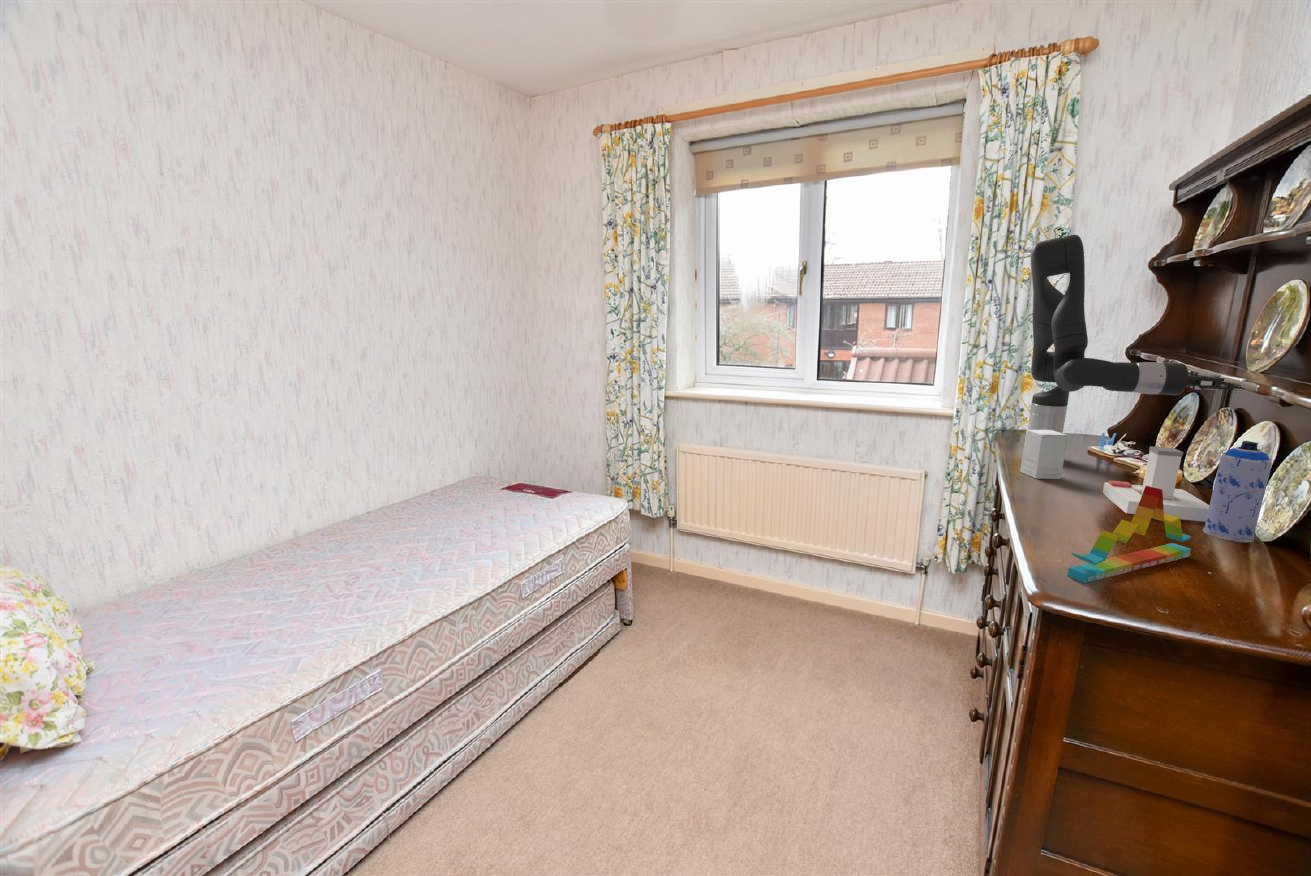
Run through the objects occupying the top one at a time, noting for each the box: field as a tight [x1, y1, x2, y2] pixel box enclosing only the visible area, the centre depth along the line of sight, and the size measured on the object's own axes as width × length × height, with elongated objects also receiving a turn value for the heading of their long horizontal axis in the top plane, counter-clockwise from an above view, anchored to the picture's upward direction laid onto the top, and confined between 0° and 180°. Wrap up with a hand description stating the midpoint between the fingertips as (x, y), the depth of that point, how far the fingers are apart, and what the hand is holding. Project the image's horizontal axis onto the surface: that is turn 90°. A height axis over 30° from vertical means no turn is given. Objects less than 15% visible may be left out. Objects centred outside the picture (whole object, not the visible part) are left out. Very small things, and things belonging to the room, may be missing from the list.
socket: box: [1102, 480, 1210, 523], centre depth 138 cm, size 16×16×4 cm
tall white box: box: [1141, 446, 1184, 500], centre depth 137 cm, size 5×5×14 cm
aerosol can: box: [1202, 440, 1273, 543], centre depth 120 cm, size 8×8×20 cm
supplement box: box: [1019, 429, 1069, 480], centre depth 163 cm, size 7×7×13 cm
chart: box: [1067, 486, 1192, 584], centre depth 105 cm, size 30×3×15 cm, turn 112°
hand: (1244, 382), depth 133 cm, fingers open, 8 cm apart
